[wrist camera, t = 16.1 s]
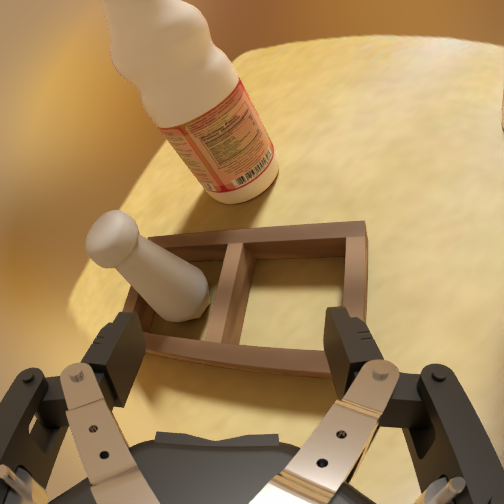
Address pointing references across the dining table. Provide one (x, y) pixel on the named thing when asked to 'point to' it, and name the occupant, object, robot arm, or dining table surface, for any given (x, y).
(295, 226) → the caddy
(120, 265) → the salt shaker
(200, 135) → the fruit juice
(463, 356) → the dining table surface
